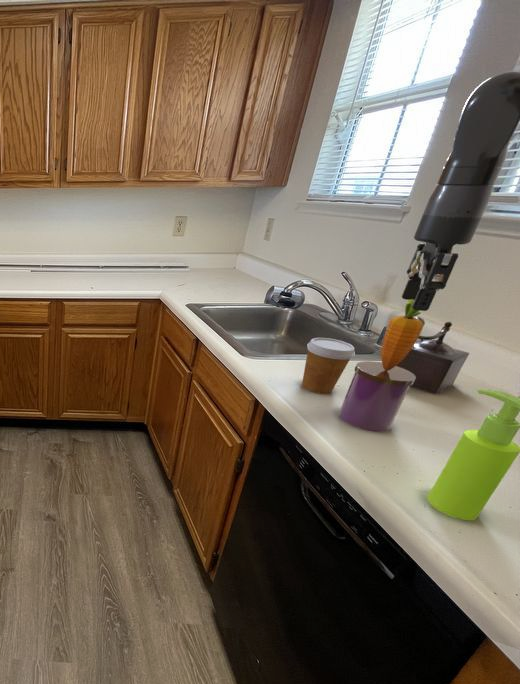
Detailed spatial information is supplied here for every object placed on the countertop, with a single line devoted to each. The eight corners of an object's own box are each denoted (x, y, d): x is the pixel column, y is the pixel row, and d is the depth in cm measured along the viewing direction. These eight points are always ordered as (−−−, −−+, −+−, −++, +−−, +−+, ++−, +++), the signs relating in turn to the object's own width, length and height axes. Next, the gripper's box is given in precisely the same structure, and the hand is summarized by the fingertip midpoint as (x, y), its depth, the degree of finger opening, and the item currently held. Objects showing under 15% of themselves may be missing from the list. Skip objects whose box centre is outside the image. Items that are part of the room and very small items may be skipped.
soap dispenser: (439, 489, 71) (499, 385, 62) (486, 519, 65) (560, 408, 56) (410, 492, 70) (467, 387, 61) (456, 523, 64) (526, 411, 55)
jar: (386, 417, 92) (409, 367, 87) (395, 438, 85) (421, 385, 79) (334, 406, 96) (353, 357, 91) (339, 425, 89) (359, 374, 84)
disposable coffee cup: (298, 376, 110) (312, 334, 105) (341, 388, 105) (358, 343, 99) (290, 389, 104) (305, 344, 99) (336, 401, 98) (354, 355, 93)
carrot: (373, 363, 88) (402, 294, 82) (403, 371, 85) (436, 299, 78) (368, 370, 85) (398, 298, 79) (399, 378, 82) (432, 304, 75)
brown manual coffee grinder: (401, 370, 115) (429, 306, 107) (453, 386, 106) (488, 318, 98) (373, 382, 108) (402, 315, 100) (427, 400, 99) (462, 329, 91)
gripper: (498, 217, 65) (451, 317, 72) (467, 211, 76) (428, 298, 83) (435, 215, 68) (396, 310, 75) (414, 210, 79) (381, 293, 86)
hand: (413, 304), depth 79 cm, fingers open, 8 cm apart
